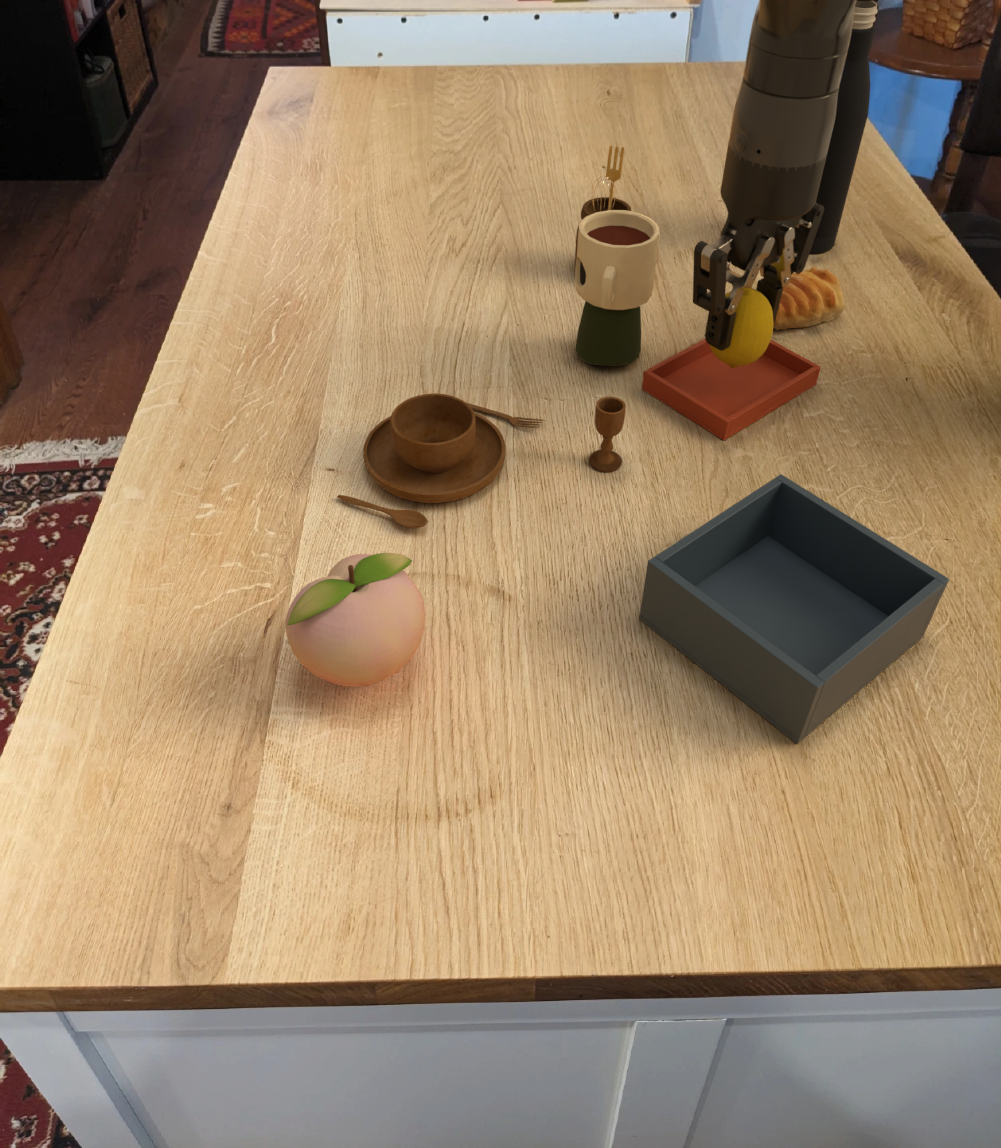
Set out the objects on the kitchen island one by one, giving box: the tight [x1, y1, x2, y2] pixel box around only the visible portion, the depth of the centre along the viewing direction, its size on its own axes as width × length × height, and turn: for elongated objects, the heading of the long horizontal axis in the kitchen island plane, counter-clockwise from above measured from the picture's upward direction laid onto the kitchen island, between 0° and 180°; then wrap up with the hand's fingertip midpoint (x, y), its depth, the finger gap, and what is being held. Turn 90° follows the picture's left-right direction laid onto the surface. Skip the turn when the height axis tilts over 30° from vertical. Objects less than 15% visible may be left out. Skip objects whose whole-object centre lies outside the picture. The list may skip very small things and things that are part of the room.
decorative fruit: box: [285, 552, 426, 687], centre depth 67 cm, size 9×8×10 cm
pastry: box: [773, 266, 846, 331], centre depth 102 cm, size 9×7×4 cm
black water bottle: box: [793, 0, 878, 255], centre depth 103 cm, size 6×6×30 cm
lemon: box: [710, 287, 774, 368], centre depth 90 cm, size 6×6×8 cm
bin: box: [638, 473, 950, 745], centre depth 71 cm, size 14×14×6 cm
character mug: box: [574, 210, 660, 367], centre depth 93 cm, size 11×7×13 cm, turn 166°
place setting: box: [336, 392, 627, 529], centre depth 83 cm, size 18×20×6 cm
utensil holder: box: [574, 145, 632, 269], centre depth 105 cm, size 6×6×12 cm
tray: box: [641, 338, 822, 441], centre depth 94 cm, size 13×10×2 cm
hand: (740, 332), depth 90 cm, fingers closed on lemon, 5 cm apart
